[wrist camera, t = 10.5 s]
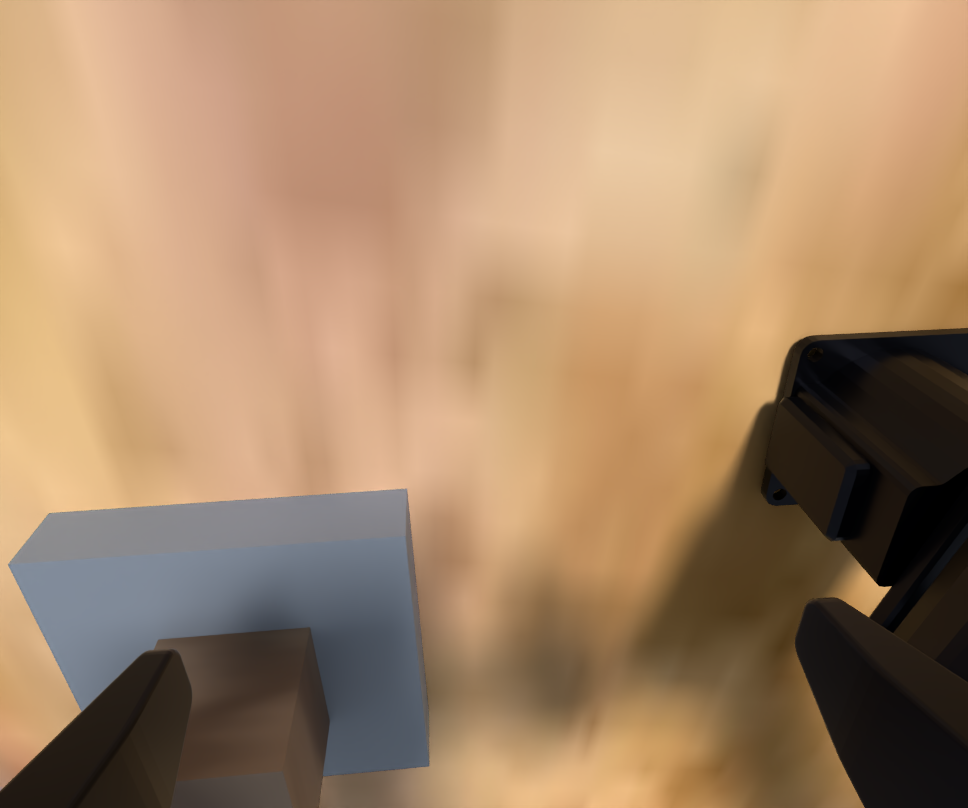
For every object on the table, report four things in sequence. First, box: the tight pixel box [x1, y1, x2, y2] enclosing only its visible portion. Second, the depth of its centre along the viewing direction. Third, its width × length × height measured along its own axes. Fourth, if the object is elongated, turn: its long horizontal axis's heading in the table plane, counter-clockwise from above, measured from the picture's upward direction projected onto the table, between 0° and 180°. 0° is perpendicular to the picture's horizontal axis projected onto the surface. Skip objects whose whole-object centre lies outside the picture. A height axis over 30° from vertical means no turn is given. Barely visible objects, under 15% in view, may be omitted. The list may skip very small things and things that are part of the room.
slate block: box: [8, 489, 429, 776], centre depth 24 cm, size 12×12×3 cm
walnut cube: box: [154, 627, 330, 808], centre depth 21 cm, size 5×5×5 cm
